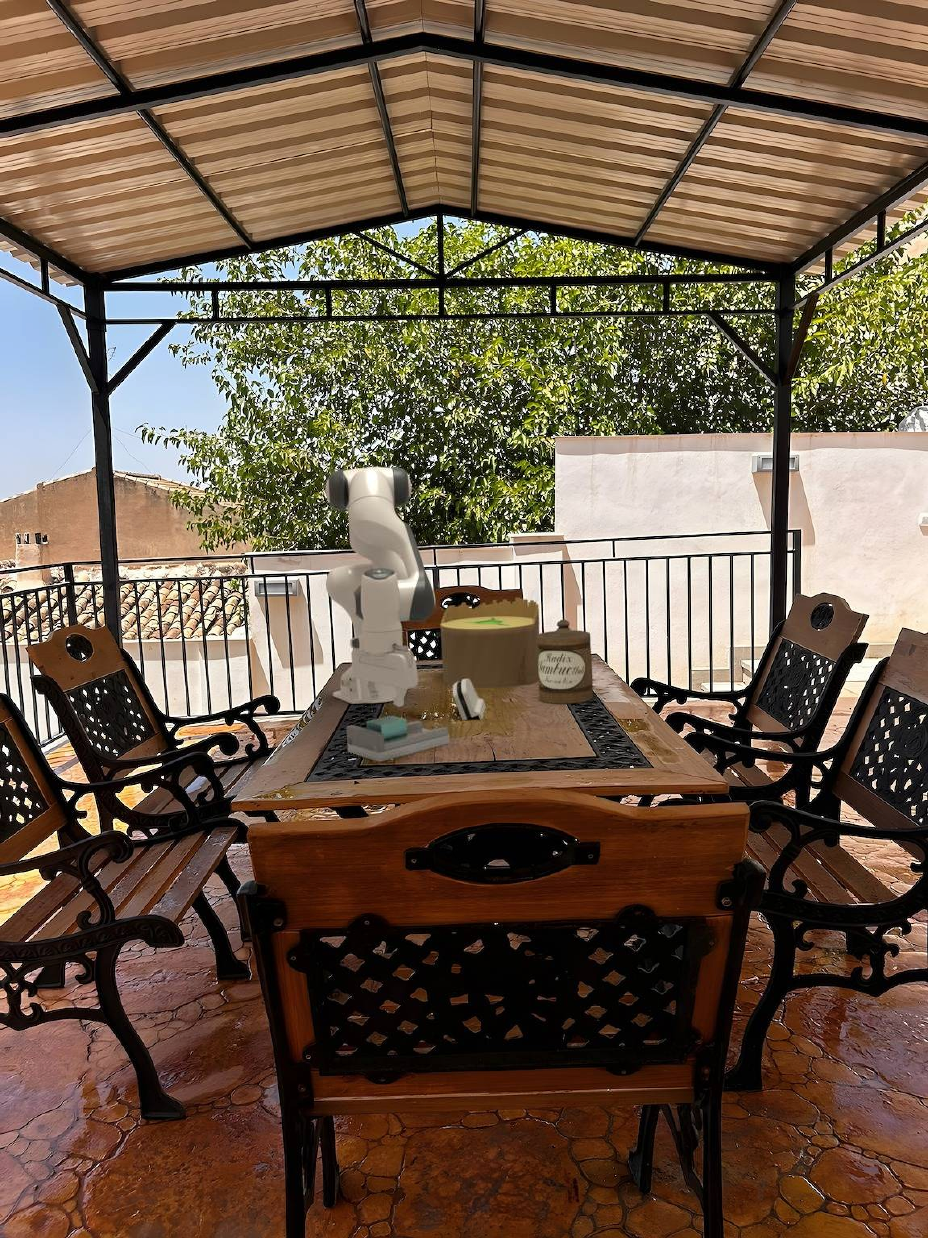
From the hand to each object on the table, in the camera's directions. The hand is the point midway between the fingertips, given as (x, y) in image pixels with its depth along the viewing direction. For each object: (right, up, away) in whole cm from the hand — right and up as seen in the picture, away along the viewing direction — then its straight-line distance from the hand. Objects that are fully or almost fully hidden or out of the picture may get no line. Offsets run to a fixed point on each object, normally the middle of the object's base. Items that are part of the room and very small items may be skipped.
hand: (386, 702), depth 202 cm
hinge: (+19, -6, +35) cm, 40 cm away
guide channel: (+3, -11, +3) cm, 11 cm away
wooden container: (+46, -3, +47) cm, 66 cm away
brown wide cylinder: (+26, 0, +82) cm, 86 cm away
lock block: (0, -9, +1) cm, 9 cm away
